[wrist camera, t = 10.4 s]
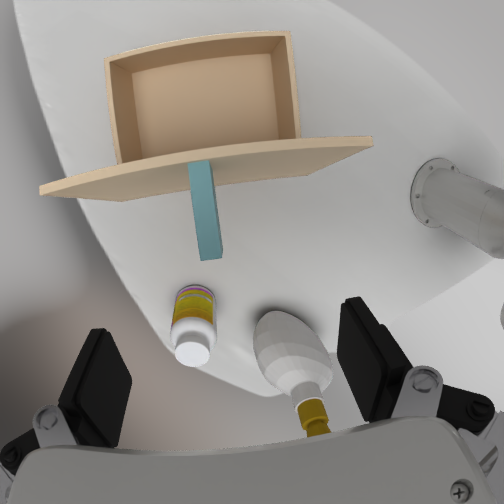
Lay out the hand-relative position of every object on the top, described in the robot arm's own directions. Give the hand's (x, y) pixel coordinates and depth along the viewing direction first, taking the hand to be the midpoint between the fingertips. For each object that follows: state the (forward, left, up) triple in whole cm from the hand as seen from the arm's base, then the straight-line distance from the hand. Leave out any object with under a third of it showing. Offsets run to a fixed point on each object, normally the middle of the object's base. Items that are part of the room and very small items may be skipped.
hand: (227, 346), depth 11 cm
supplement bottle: (+7, +19, -33) cm, 39 cm away
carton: (+1, -10, -33) cm, 35 cm away
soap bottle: (-7, +27, -33) cm, 44 cm away
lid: (+1, -4, -15) cm, 16 cm away
